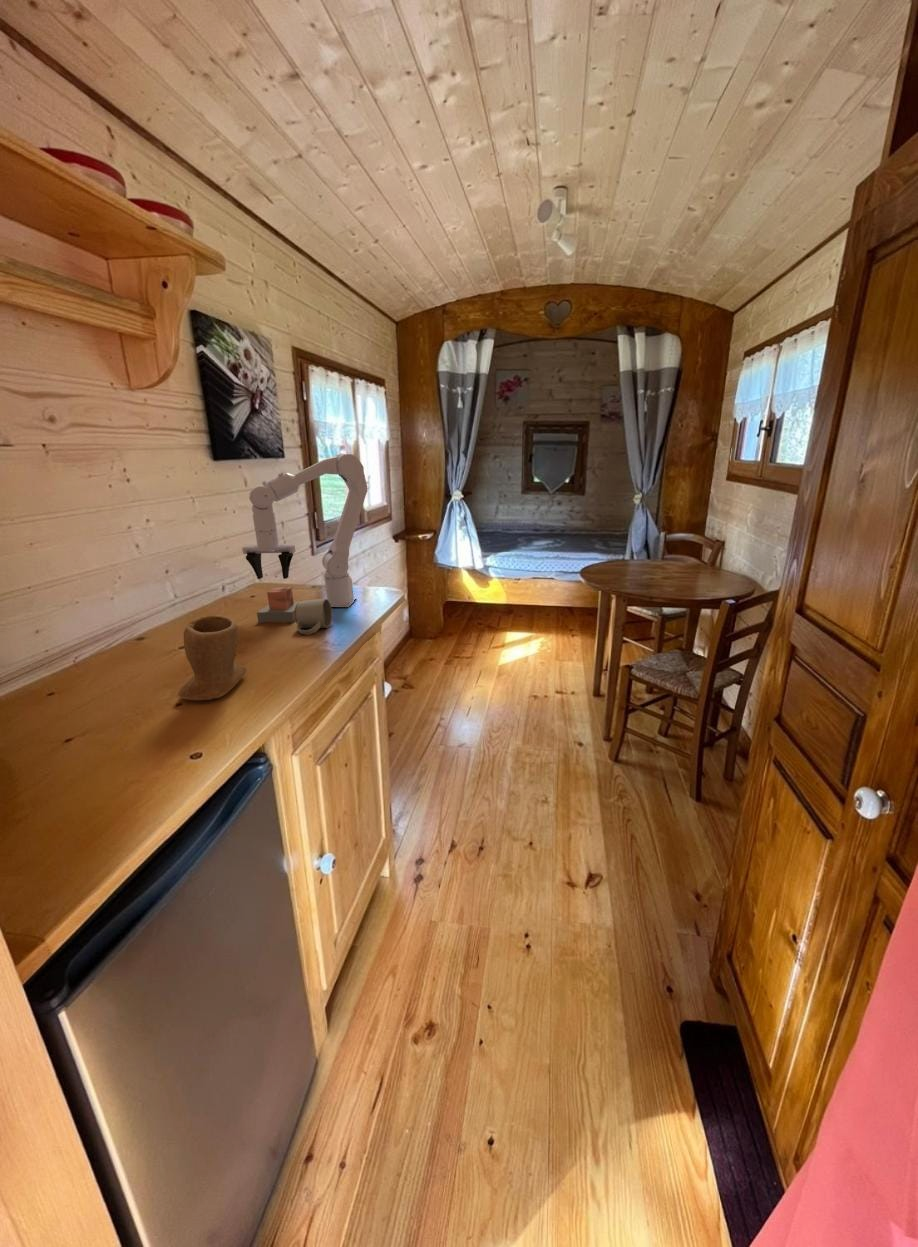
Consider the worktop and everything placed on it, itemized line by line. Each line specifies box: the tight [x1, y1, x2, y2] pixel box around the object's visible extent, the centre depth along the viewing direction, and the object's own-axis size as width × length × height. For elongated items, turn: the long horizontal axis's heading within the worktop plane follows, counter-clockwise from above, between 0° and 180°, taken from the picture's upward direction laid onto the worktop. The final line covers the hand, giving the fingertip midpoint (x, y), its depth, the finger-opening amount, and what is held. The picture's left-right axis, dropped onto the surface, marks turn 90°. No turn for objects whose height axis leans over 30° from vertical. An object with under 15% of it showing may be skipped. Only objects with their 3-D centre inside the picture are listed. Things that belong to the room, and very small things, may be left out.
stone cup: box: [177, 614, 248, 701], centre depth 107 cm, size 15×12×15 cm
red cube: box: [266, 586, 295, 610], centre depth 153 cm, size 5×5×5 cm
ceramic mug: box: [294, 598, 333, 635], centre depth 142 cm, size 11×8×8 cm
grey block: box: [256, 601, 299, 624], centre depth 154 cm, size 10×10×4 cm
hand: (273, 578), depth 155 cm, fingers open, 7 cm apart
